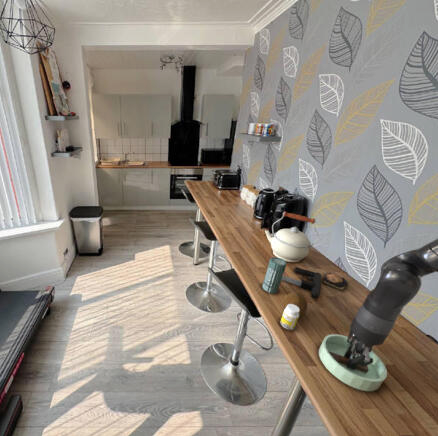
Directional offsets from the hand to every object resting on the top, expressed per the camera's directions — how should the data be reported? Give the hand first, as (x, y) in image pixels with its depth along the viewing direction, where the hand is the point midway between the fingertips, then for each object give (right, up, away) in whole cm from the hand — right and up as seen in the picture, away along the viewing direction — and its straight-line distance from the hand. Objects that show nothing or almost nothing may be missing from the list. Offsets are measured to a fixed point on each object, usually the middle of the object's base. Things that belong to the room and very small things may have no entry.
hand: (349, 362), depth 74 cm
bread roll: (+26, +15, +39) cm, 49 cm away
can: (-8, +13, +33) cm, 36 cm away
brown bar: (0, -1, 0) cm, 1 cm away
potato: (-5, +8, +21) cm, 23 cm away
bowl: (0, -1, +1) cm, 1 cm away
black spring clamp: (+10, +15, +38) cm, 42 cm away
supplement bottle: (-11, +5, +14) cm, 19 cm away
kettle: (+14, +25, +60) cm, 67 cm away
